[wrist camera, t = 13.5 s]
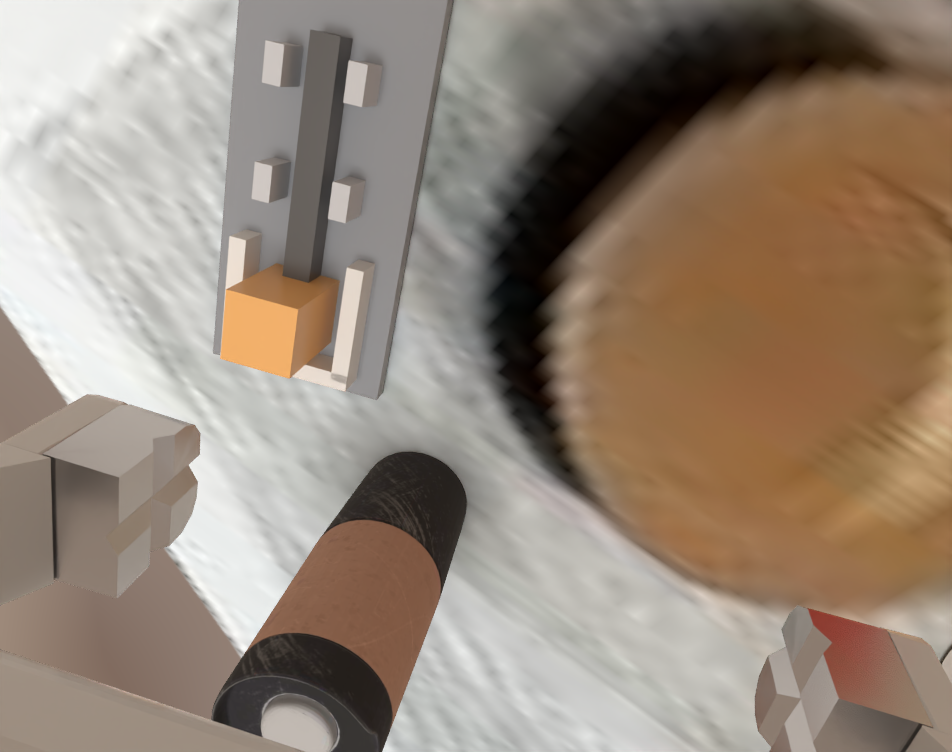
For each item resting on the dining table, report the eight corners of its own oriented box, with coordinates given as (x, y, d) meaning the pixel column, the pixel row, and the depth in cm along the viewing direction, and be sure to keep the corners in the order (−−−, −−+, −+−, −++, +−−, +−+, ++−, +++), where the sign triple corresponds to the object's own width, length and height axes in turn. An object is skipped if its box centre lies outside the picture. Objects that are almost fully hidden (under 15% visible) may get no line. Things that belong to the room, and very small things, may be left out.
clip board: (474, -118, 35) (459, -138, 32) (382, 392, 47) (364, 415, 43) (262, -164, 36) (226, -188, 33) (222, 347, 48) (192, 366, 44)
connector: (330, 342, 45) (289, 378, 39) (269, 325, 45) (220, 358, 40) (374, 43, 38) (332, 37, 32) (302, 26, 38) (248, 17, 33)
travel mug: (339, 488, 50) (174, 721, 32) (414, 425, 47) (281, 642, 29) (416, 565, 51) (299, 831, 33) (494, 508, 48) (414, 766, 30)
